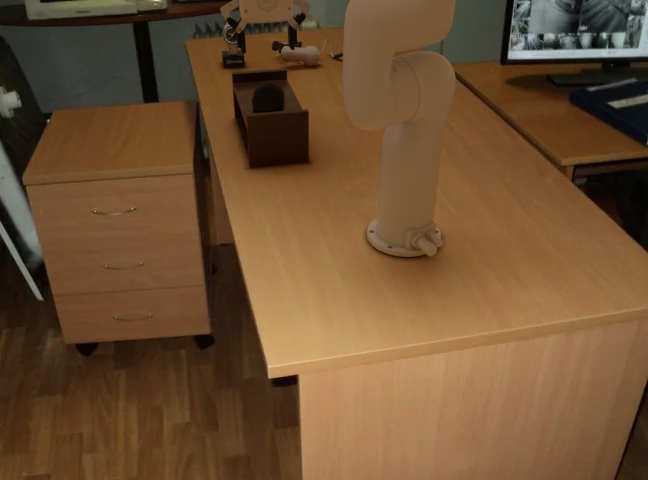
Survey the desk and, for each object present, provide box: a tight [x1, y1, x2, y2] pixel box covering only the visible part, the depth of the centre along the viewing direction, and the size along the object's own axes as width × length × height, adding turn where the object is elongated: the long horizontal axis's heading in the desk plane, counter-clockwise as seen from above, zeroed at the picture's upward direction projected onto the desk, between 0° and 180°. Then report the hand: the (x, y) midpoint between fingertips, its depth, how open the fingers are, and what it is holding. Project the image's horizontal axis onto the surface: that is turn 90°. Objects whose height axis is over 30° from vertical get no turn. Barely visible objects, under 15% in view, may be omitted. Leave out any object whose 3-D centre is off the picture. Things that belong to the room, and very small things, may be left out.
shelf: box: [231, 67, 310, 169], centre depth 153 cm, size 24×12×11 cm, turn 13°
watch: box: [221, 22, 246, 69], centre depth 190 cm, size 6×8×11 cm
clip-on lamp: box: [271, 38, 343, 67], centre depth 195 cm, size 12×6×18 cm
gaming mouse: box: [252, 81, 284, 111], centre depth 150 cm, size 6×15×4 cm, turn 177°
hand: (267, 49), depth 144 cm, fingers open, 9 cm apart
